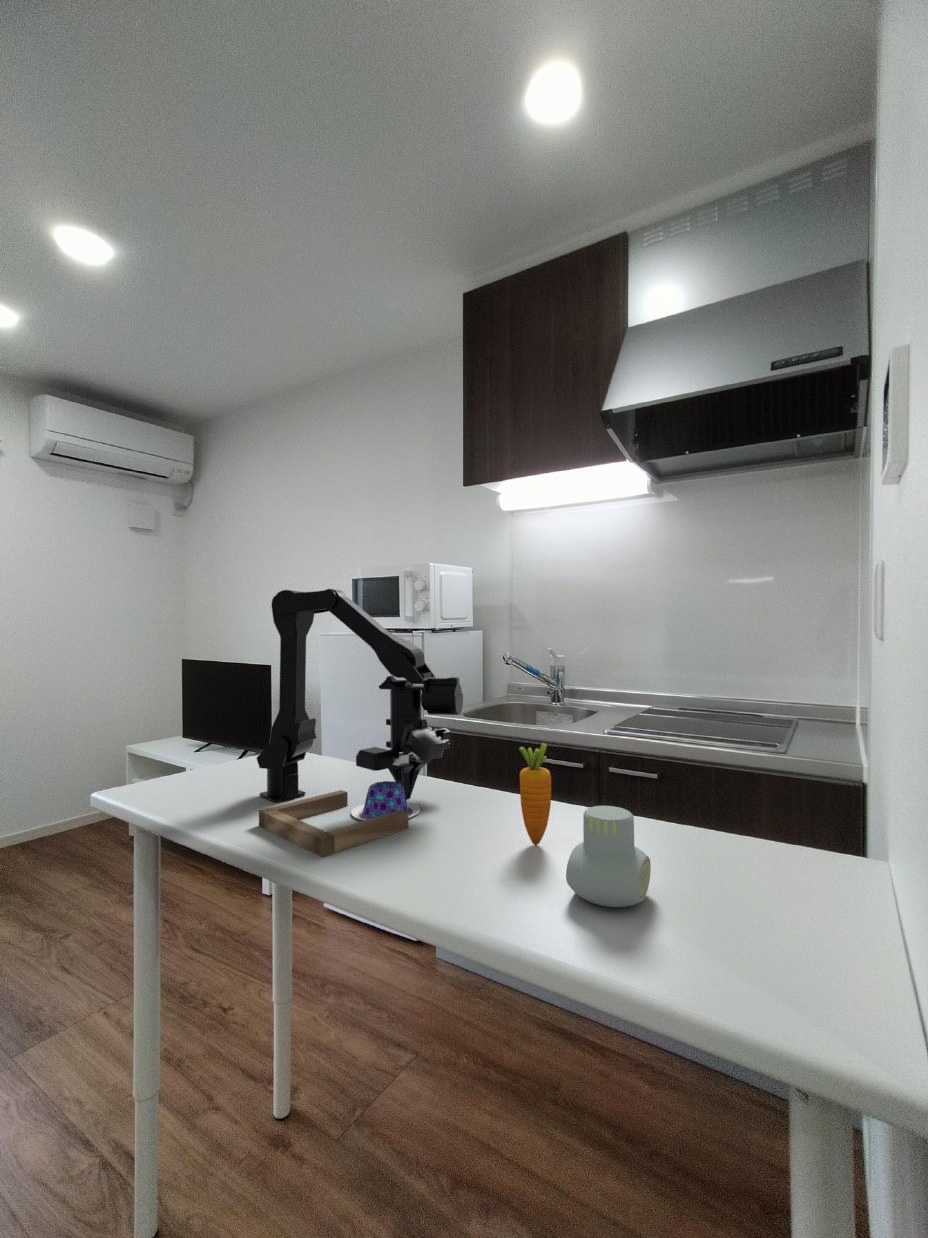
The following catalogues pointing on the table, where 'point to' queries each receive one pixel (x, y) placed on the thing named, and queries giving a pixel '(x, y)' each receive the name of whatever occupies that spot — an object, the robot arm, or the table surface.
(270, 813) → the holder
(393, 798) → the pudding
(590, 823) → the air freshener
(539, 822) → the carrot
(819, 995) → the table surface
